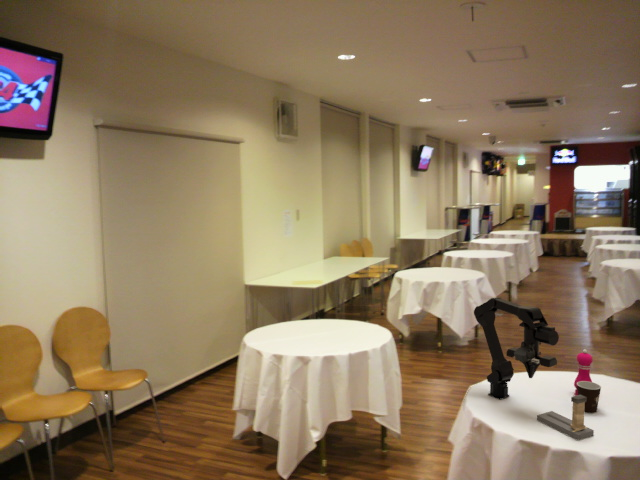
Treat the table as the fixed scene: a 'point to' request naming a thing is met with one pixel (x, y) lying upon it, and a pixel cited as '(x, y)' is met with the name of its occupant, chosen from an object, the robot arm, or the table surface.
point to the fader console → (564, 425)
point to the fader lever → (578, 412)
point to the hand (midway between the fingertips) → (530, 377)
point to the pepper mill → (583, 368)
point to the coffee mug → (589, 395)
